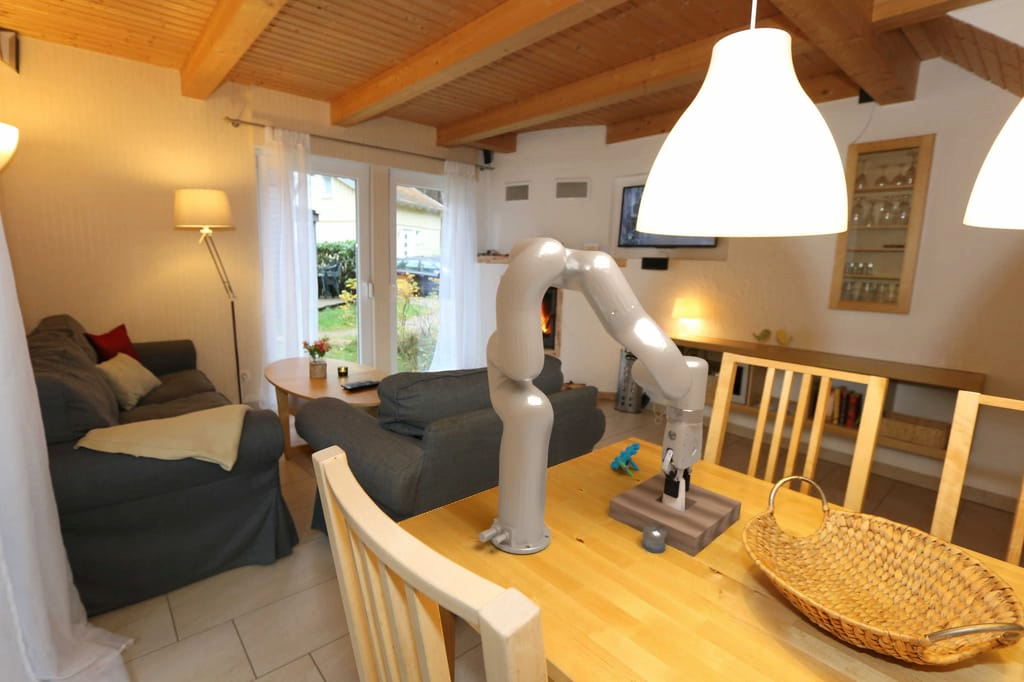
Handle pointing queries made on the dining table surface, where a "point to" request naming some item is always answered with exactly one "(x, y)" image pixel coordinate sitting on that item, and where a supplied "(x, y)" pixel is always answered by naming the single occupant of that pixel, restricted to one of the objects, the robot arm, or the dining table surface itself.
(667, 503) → the salt shaker
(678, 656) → the dining table surface
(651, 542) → the short stub
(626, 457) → the blue bumpy figure
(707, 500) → the socket plate
